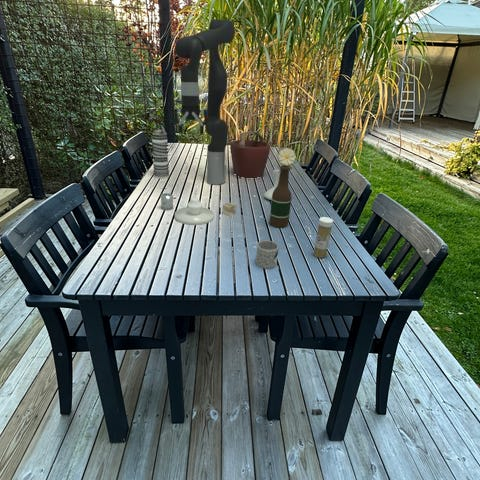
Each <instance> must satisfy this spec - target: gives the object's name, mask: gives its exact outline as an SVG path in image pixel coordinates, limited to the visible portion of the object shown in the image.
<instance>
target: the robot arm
mask: <svg viewBox="0 0 480 480" xmlns="http://www.w3.org/2000/svg"><path fill="white" fill-rule="evenodd" d="M208 25H209V26H208V29H206V30H205V29H204V30H203V31H199V32H197V33H194V34H193V35H188V36H184V37H183V36H182V37H179V39H177V40H176V42H175V44H174V51H175V52H174V53H175V54H176V55H177V57H179V58H180V59H182V60H183V59H187V60H189V62H188V64H186V65H183V66H181V67H180V100H181V108H178V107H176V108H174V110H173V123H174V124H176V125H178V133H180V135H183V134H184V131H183V130H184V129H183V128H184V127H183V124H184V122H185V120H187V121H195V120H196V121H197V122H198V123H199V134H200V136H203V134H204V132H206V134H207V135H209V136H211V138H210V139H211V140H210V143H208V144H207V148H206V149H207V150H206V152H207V153H206V154H207V155H206V156H207V157H206V158H207V159H206V163H207V164H206V183H207V184H209V185H212V184H214V185H215V186H217V185H218V184H220V185H223V184H225V183H226V181H227V180H226V179H227V178H226V176H227V172H226V171H227V165H226V163H225V160H226V147H227V145H228V144H227V143H228V135H229V132H228V131H229V129H228V123H227V122H226V120H224V119H222V118H221V106H222V104H223V101H224V99H225V96H226V93H227V90H228V72H227V70H226V67H225V66H224V65H225V64H224V63H223V60H222V59H221V55H220V47H219V46H220V45H223V44H230V43H232V42H233V40H234V38H235V35H236V34H235V33H236V28H235V25H234V23H233V21H231V20H230V19H221V18H220V19H217V18H215V19H211V20H210V22H209V24H208ZM206 51H208V58H209V59H208V79H207V106H206V108H205V109H201V107H200V85H199V70H200V69H199V68H200V63H201V59H202V55H203V53H204V52H206ZM180 113H181V114H182V118H181V119H180V120H179V114H180ZM200 114H202V116H203V117H204V118H203V119H204V121H203V120H202V118H201V117H200ZM204 128H205V129H204ZM224 182H225V183H224ZM222 183H223V184H222ZM214 185H213V186H214Z"/></svg>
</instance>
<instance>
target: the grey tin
mask: <svg viewBox="0 0 480 480" xmlns="http://www.w3.org/2000/svg"><path fill="white" fill-rule="evenodd" d="M160 205H161V207H160V208H161V210H163V211H172V210H173V209H174V195H173V194H172V193H168V192H166V193H162V194H160Z"/></svg>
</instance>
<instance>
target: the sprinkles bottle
mask: <svg viewBox="0 0 480 480" xmlns="http://www.w3.org/2000/svg"><path fill="white" fill-rule="evenodd" d="M333 225H334V219H333V218H332V217H327V216H321V217H319V219H318V228H317V233H316V237H315V243H314V249H313V251H312V252H313V253H312V254H313V256H314V257H316V258H319V259H324V258H326V257H327V255H328V254H327V253H328V248H329V244H330V240H331V234H332V228H333Z"/></svg>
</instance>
